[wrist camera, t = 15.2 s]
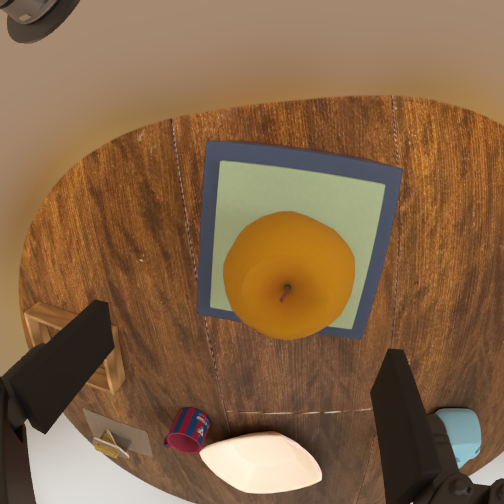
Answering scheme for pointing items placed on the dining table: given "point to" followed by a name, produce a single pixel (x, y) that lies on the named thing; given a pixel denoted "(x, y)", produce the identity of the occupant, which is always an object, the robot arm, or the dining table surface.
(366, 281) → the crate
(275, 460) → the bowl
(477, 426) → the teapot
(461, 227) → the dining table surface
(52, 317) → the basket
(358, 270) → the mat
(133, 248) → the dining table surface
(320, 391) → the dining table surface
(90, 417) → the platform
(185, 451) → the mug
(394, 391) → the robot arm
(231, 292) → the apple
